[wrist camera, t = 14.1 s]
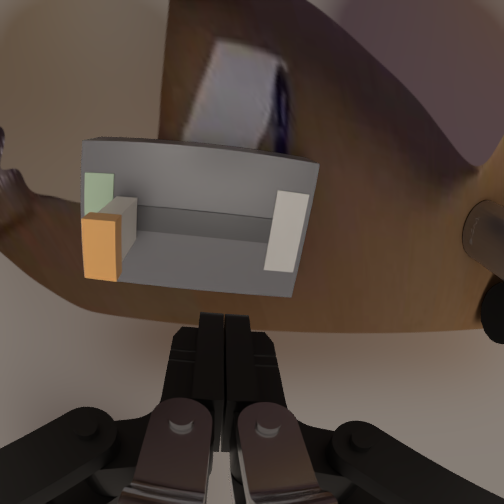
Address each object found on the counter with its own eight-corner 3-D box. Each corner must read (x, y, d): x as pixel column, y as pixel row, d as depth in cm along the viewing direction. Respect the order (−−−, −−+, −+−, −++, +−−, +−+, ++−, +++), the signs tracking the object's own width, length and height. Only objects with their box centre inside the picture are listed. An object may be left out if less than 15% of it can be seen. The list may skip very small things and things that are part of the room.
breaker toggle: (140, 194, 27) (115, 221, 20) (139, 242, 29) (116, 281, 22) (114, 192, 27) (81, 218, 20) (113, 239, 29) (84, 277, 21)
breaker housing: (305, 157, 33) (320, 164, 28) (282, 275, 38) (291, 298, 33) (100, 136, 29) (81, 140, 25) (99, 257, 35) (83, 277, 30)
